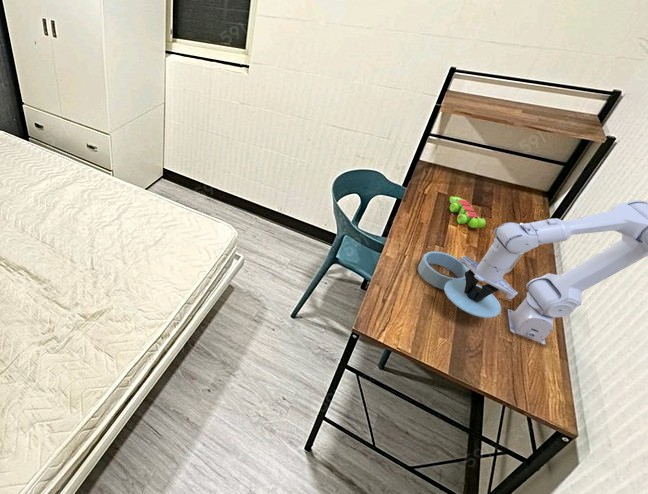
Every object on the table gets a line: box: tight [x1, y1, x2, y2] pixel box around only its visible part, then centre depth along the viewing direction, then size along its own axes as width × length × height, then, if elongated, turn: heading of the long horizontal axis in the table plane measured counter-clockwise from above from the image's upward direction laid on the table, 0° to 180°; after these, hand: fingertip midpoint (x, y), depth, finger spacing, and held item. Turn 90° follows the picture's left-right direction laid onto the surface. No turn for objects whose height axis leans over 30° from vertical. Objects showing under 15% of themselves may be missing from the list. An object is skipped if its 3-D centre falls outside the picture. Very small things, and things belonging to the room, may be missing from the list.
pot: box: [417, 250, 468, 291], centre depth 133 cm, size 13×13×6 cm
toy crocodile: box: [449, 196, 487, 229], centre depth 159 cm, size 20×7×6 cm, turn 168°
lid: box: [443, 279, 502, 319], centre depth 116 cm, size 14×14×4 cm
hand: (472, 296), depth 117 cm, fingers closed on lid, 2 cm apart
